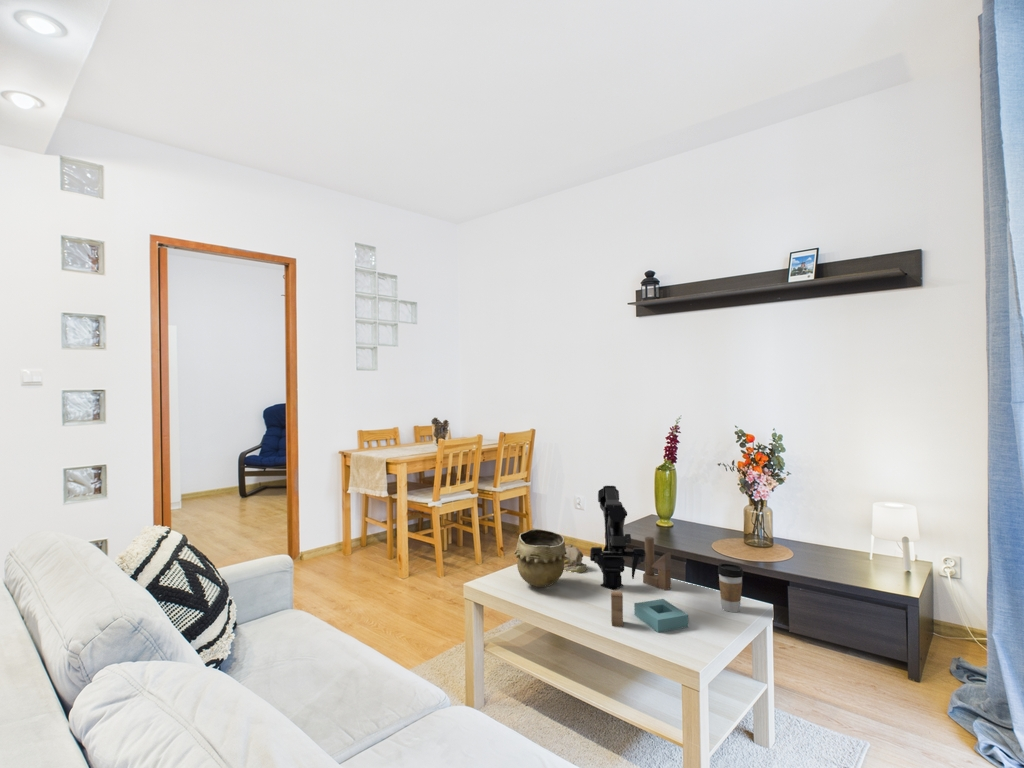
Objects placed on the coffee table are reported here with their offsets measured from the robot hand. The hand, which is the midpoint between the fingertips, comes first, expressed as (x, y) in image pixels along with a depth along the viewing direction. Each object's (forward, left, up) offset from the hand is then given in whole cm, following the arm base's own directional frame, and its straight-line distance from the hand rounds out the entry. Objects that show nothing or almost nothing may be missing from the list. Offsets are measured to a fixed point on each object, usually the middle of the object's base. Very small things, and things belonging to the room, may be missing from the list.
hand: (619, 578), depth 186 cm
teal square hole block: (+11, +7, -13) cm, 19 cm away
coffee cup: (+23, +33, -13) cm, 43 cm away
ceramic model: (-44, +27, -14) cm, 53 cm away
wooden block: (-7, +34, -13) cm, 37 cm away
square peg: (+2, -5, -13) cm, 14 cm away
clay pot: (-39, +2, -13) cm, 41 cm away
